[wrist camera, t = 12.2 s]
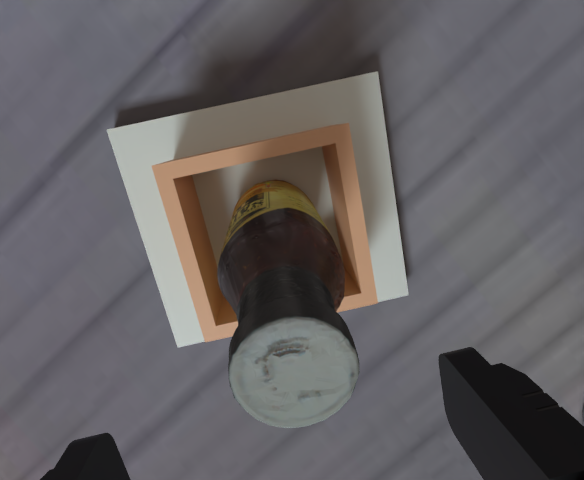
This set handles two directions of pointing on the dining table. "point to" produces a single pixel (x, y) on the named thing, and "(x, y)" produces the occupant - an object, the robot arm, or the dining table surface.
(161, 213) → the box on white base
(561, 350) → the dining table surface
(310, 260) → the sauce bottle
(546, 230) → the dining table surface
